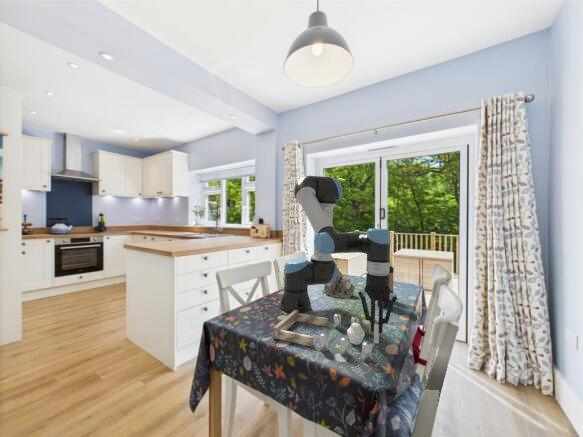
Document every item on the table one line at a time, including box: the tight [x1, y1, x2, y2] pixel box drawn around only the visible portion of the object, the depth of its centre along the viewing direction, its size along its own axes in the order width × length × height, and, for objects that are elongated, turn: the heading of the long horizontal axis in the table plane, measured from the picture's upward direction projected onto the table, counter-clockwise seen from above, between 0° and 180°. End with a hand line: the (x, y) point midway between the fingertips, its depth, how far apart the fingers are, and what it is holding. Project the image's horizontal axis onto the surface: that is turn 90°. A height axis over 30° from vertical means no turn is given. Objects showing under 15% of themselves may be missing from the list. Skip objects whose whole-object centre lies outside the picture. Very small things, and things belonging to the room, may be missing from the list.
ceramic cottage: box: [322, 268, 356, 298], centre depth 148 cm, size 16×16×15 cm
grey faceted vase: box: [346, 323, 366, 346], centre depth 90 cm, size 6×6×7 cm
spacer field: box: [318, 313, 377, 363], centre depth 91 cm, size 17×22×5 cm
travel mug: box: [377, 266, 395, 310], centre depth 129 cm, size 8×8×20 cm
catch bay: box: [273, 310, 329, 348], centre depth 99 cm, size 15×20×4 cm
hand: (376, 341), depth 88 cm, fingers closed
